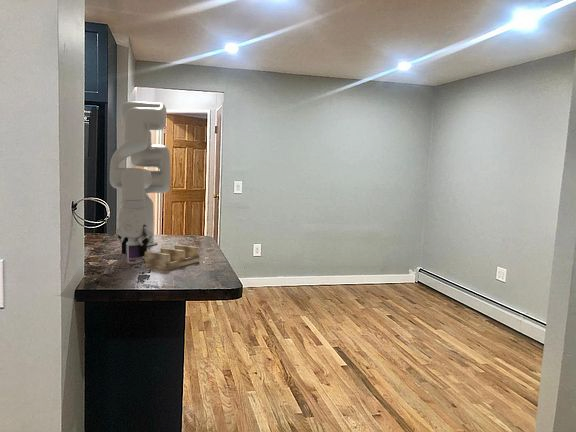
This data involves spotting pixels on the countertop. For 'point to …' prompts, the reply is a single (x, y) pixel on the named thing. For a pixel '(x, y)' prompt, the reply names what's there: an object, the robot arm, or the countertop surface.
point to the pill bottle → (133, 251)
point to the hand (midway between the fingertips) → (134, 254)
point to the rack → (172, 257)
